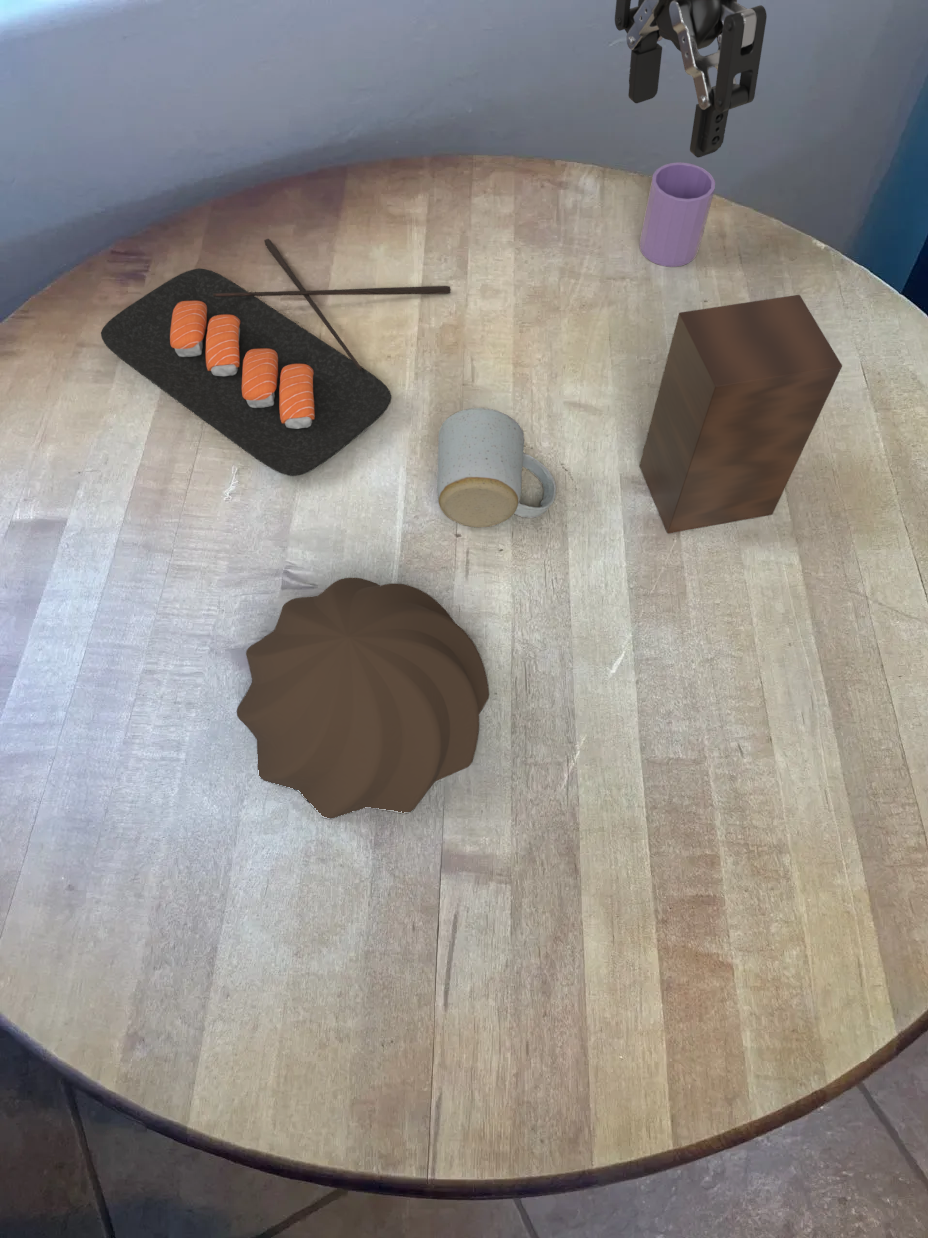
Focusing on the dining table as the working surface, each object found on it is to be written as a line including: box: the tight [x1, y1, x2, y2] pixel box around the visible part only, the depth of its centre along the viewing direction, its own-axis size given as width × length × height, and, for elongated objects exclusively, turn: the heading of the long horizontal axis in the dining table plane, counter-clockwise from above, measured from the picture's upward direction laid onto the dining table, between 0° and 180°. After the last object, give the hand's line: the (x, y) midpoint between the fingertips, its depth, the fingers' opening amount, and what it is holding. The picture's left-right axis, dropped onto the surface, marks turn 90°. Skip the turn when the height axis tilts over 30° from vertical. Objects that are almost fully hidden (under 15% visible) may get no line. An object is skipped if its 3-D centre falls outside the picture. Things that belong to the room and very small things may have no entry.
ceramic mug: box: [436, 407, 557, 528], centre depth 84 cm, size 11×8×8 cm
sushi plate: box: [100, 238, 451, 477], centre depth 96 cm, size 29×30×4 cm
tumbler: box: [638, 161, 716, 268], centre depth 102 cm, size 6×6×8 cm
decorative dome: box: [236, 577, 490, 819], centre depth 72 cm, size 19×20×10 cm
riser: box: [638, 294, 843, 534], centre depth 80 cm, size 10×8×18 cm
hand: (672, 124), depth 73 cm, fingers open, 8 cm apart
